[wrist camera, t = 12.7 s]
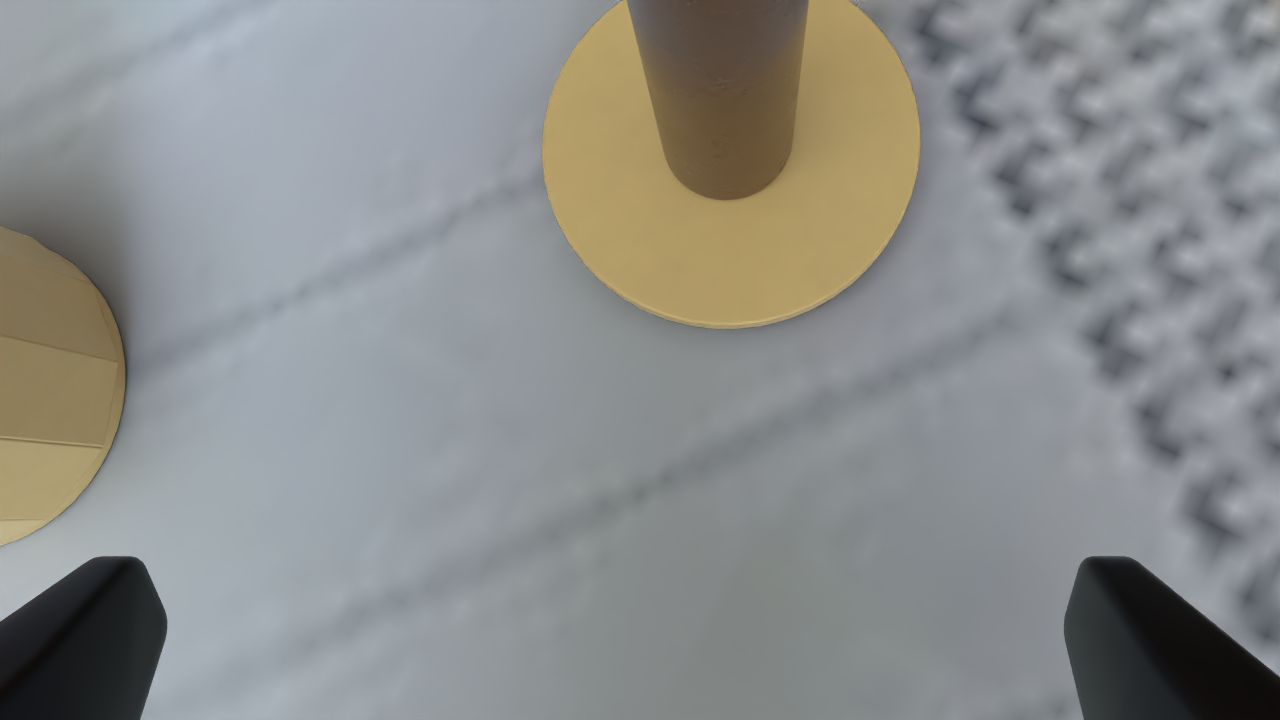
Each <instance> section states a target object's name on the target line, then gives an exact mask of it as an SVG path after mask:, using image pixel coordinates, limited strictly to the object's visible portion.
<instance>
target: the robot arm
mask: <svg viewBox="0 0 1280 720" xmlns="http://www.w3.org/2000/svg"><path fill="white" fill-rule="evenodd" d="M166 634H167V616H166V612H165V609H164V607H163V605H162V603H161V600H160V598H159V596H158V593H157V591H156V589H155V587H154V584H153V582H152V580H151V578H150V575H149V573H148V571H147V569H146V567H145V565H144V563H143V562H142V561H140V560H139V559H138V558H135V557H132V556H101V557H96V558H93V559H91V560H89V561H88V562H86V563H84V564H83V565H81V566H80V567H78V568H77V569H76V570H74V571H73V572H71V573H70V574H68V575H67V576H66V577H64V578H63V579H61V580H60V581H58V582H57V583H55V584H54V585H53V586H51V587H50V588H48V589H47V590H45V591H44V592H42V593H41V594H40V595H38V596H37V597H35V598H34V599H32V600H31V601H30V602H28V603H27V604H25V605H24V606H22V607H21V608H19V609H18V610H17V611H15V612H14V613H12V614H11V615H9V616H8V617H6V618H5V619H4V620H2V621H1V622H0V720H140V718H141V715H142V712H143V709H144V706H145V703H146V699H147V696H148V693H149V690H150V687H151V683H152V680H153V677H154V674H155V671H156V668H157V664H158V661H159V658H160V655H161V652H162V649H163V645H164V642H165V639H166ZM1064 635H1065V642H1066V647H1067V651H1068V655H1069V659H1070V663H1071V667H1072V672H1073V676H1074V680H1075V684H1076V688H1077V693H1078V697H1079V701H1080V705H1081V709H1082V714H1083V718H1084V720H1280V677H1279V676H1278V675H1277V674H1275V673H1274V672H1273V671H1272V670H1270V669H1269V668H1268V667H1267V666H1265V665H1264V664H1263V663H1262V662H1261V661H1259V660H1258V659H1257V658H1256V657H1254V656H1253V655H1252V654H1251V653H1249V652H1248V651H1247V650H1246V649H1245V648H1243V647H1242V646H1241V645H1240V644H1238V643H1237V642H1236V641H1235V640H1233V639H1232V638H1231V637H1230V636H1229V635H1227V634H1226V633H1225V632H1224V631H1222V630H1221V629H1220V628H1219V627H1218V626H1216V625H1215V624H1214V623H1213V622H1211V621H1210V620H1209V619H1208V618H1206V617H1205V616H1204V615H1203V614H1202V613H1200V612H1199V611H1198V610H1197V609H1195V608H1194V607H1193V606H1192V605H1190V604H1189V603H1188V602H1187V601H1186V600H1184V599H1183V598H1182V597H1181V596H1179V595H1178V594H1177V593H1176V592H1175V591H1173V590H1172V589H1171V588H1170V587H1168V586H1167V585H1166V584H1165V583H1163V582H1162V581H1161V580H1160V579H1159V578H1157V577H1156V576H1155V575H1154V574H1152V573H1151V572H1150V571H1149V570H1147V569H1146V568H1145V567H1144V566H1143V565H1141V564H1140V563H1139V562H1137V561H1136V560H1134V559H1132V558H1129V557H1125V556H1091V557H1088V558H1086V559H1084V560H1083V561H1082V563H1081V564H1080V567H1079V569H1078V572H1077V576H1076V579H1075V583H1074V586H1073V590H1072V593H1071V596H1070V600H1069V603H1068V607H1067V610H1066V614H1065V618H1064Z"/></svg>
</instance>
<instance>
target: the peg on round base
mask: <svg viewBox="0 0 1280 720" xmlns="http://www.w3.org/2000/svg"><path fill="white" fill-rule="evenodd" d="M920 149H921V144H920V121H919V114H918V108H917V102H916V98H915V95H914V92H913V89H912V85H911V82H910V79H909V76H908V74H907V72H906V70H905V68H904V66H903V64H902V62H901V59H900V57H899V55H898V54H897V52H896V51H895V49H894V48H893V46H892V45H891V43H890V42H889V40H888V39H887V37H886V36H885V35H884V33H883V32H882V31H881V30H880V29H879V28H878V27H877V25H876V24H875V23H874V22H873V21H872V20H871V19H870V18H869V17H868V16H867V15H866V14H865V13H864V12H863V11H861V10H860V9H859V8H858V7H857V6H856V5H855V4H853V3H852V2H851V1H849V0H622V1H620V2H619V3H618V4H616V5H615V6H614V7H612V8H611V9H610V10H608V11H607V12H606V13H605V14H604V15H603V16H602V17H601V18H600V19H599V20H598V21H597V22H596V23H595V24H594V25H593V26H592V27H591V28H590V29H589V30H588V31H587V33H586V34H585V35H584V36H583V37H582V39H581V40H580V41H579V42H578V44H577V45H576V46H575V48H574V49H573V51H572V53H571V54H570V56H569V57H568V59H567V61H566V62H565V64H564V65H563V67H562V70H561V72H560V74H559V76H558V78H557V81H556V83H555V85H554V87H553V90H552V93H551V97H550V100H549V103H548V106H547V110H546V116H545V121H544V127H543V136H542V163H543V173H544V180H545V184H546V189H547V193H548V197H549V201H550V204H551V206H552V209H553V211H554V214H555V217H556V219H557V222H558V224H559V226H560V227H561V229H562V231H563V233H564V235H565V236H566V238H567V240H568V242H569V244H570V245H571V247H572V248H573V249H574V251H575V252H576V253H577V255H578V256H579V257H580V259H581V260H582V261H583V263H584V264H585V265H586V267H587V268H588V269H589V270H590V271H591V272H592V273H593V274H594V275H595V276H596V277H597V278H598V279H599V280H600V281H601V282H602V283H603V284H604V285H606V286H607V287H608V288H610V289H611V290H612V291H614V292H615V293H616V294H617V295H619V296H620V297H621V298H623V299H625V300H626V301H628V302H630V303H632V304H633V305H635V306H637V307H638V308H640V309H642V310H644V311H646V312H649V313H651V314H654V315H656V316H659V317H661V318H663V319H666V320H670V321H674V322H677V323H681V324H685V325H689V326H696V327H704V328H711V329H741V328H749V327H757V326H764V325H768V324H772V323H776V322H779V321H783V320H787V319H790V318H792V317H795V316H797V315H800V314H802V313H805V312H807V311H810V310H812V309H814V308H816V307H817V306H819V305H821V304H823V303H824V302H826V301H828V300H830V299H832V298H833V297H835V296H836V295H837V294H839V293H840V292H841V291H843V290H844V289H845V288H847V287H848V286H849V285H851V284H852V283H853V282H854V281H855V280H857V279H858V278H859V277H860V276H861V275H862V274H863V273H864V272H865V271H866V270H867V269H868V268H869V267H870V266H871V265H872V264H873V262H874V261H875V260H876V258H877V257H878V256H879V255H880V253H881V252H882V251H883V250H884V248H885V247H886V246H887V244H888V242H889V241H890V239H891V237H892V236H893V234H894V232H895V230H896V229H897V227H898V225H899V224H900V222H901V220H902V218H903V215H904V213H905V210H906V208H907V206H908V203H909V201H910V198H911V196H912V192H913V188H914V185H915V181H916V177H917V173H918V166H919V157H920Z"/></svg>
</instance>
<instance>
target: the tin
mask: <svg viewBox="0 0 1280 720" xmlns="http://www.w3.org/2000/svg"><path fill="white" fill-rule="evenodd" d="M124 394H125V359H124V352H123V345H122V341H121V337H120V334H119V330H118V327H117V324H116V322H115V319H114V317H113V315H112V312H111V310H110V308H109V306H108V304H107V303H106V301H105V299H104V298H103V296H102V294H101V293H100V291H99V290H98V289H97V288H96V286H95V285H94V284H93V283H92V282H91V280H90V279H89V278H88V277H87V276H86V275H85V274H84V273H83V272H82V271H81V270H80V269H78V268H77V267H76V266H75V265H74V264H73V263H71V262H70V261H68V260H67V259H65V258H64V257H62V256H61V255H59V254H57V253H55V252H53V251H51V250H49V249H47V248H46V247H44V246H43V245H42V244H40V243H39V242H38V241H37V240H35V239H34V238H32V237H29V236H26V235H24V234H21V233H18V232H16V231H13V230H10V229H8V228H5V227H2V226H0V546H1V545H5V544H7V543H10V542H13V541H15V540H18V539H20V538H23V537H25V536H27V535H29V534H30V533H32V532H34V531H36V530H38V529H40V528H41V527H43V526H44V525H46V524H47V523H48V522H50V521H51V520H53V519H54V518H55V517H57V516H58V515H60V514H61V513H62V512H63V511H64V510H65V509H66V508H67V507H68V506H69V505H70V504H71V503H73V502H74V501H75V500H76V499H77V497H78V496H79V495H80V494H81V493H82V492H83V490H84V489H85V488H86V487H87V486H88V484H89V483H90V482H91V480H92V479H93V477H94V476H95V474H96V473H97V471H98V470H99V468H100V467H101V465H102V463H103V461H104V459H105V457H106V455H107V453H108V451H109V449H110V447H111V445H112V442H113V439H114V437H115V434H116V431H117V428H118V425H119V421H120V417H121V413H122V408H123V402H124Z"/></svg>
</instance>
